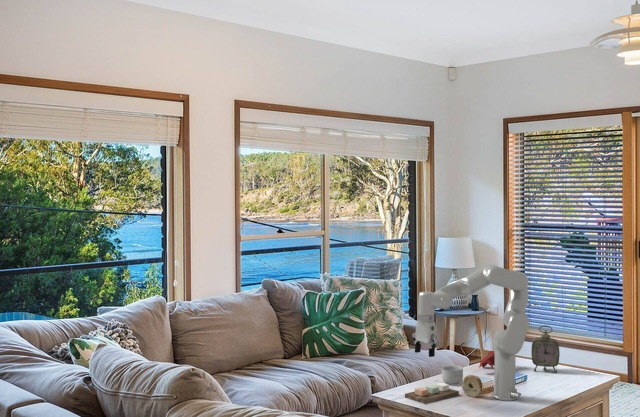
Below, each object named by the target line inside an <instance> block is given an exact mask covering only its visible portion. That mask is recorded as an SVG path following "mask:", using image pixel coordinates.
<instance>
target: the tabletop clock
mask: <svg viewBox="0 0 640 417" xmlns="http://www.w3.org/2000/svg"><path fill="white" fill-rule="evenodd" d="M543 327H546V328H549V329H551V331H547V330H544V331H543V330H540V329H541V328H543ZM538 331H539V332H540V333H542V334H541V336H540V337H535V338H534V337H533V339H532V341H531V342H532V343H531V352H530V353H531V360H532V361H531V362H532V364H533V365H535V367H534V368H533V372H536V371H537V367H538V366H539V367H543V371H547V368H552V369H553V372H554V373H555V374H556V373H557V372H558V370H557V369H556V367H557V366H558V365H559V363H560V345H559V341H558V339H555V338H551V336H550V333H552V332H553V328H552V327H551V326H549V325H545V324H544V325H540V326H539V327H538Z"/></svg>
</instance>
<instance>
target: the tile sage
mask: <svg viewBox="0 0 640 417" xmlns="http://www.w3.org/2000/svg"><path fill="white" fill-rule="evenodd" d="M425 388H426V389H428V393H431V394H434V393H438V392H439V387H437V386H436V385H434V384H430V385H425Z"/></svg>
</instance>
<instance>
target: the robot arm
mask: <svg viewBox="0 0 640 417" xmlns="http://www.w3.org/2000/svg"><path fill="white" fill-rule="evenodd" d="M490 285H495V286H498V287H500V288H501V287H502V288H506V289H508V290H509V296H508V300H507V304H506V308H505V310H504V313H503V316H502V322H503V325H504V326H506V329H501V330H498V331H497V332H496V333H495V334H494V336H493V351H494V352H495V366H494V368H495V369H494V375H493V377H494V378H493V380H494V382H493V383H494V385H493V387H494V388H493V389H494V390H493V391H491V393H490V397H492V398H493V399H496V400H499V401H507V402H508V401H516V400H518V399H519V398H521V396H522V392H518V388H516V355H517V354H518V353H519V352H520V351H521V350H522V347H523V345H524V343H525V339H526V336H527V333H528V330H529V327H530V326H529V325H530V321H529V317H528V315H527V314H526V313H525V312H526V309H527V305H528V302H529V290H528V287H529V278H528V276H527V275H526V274H525V273H523V272H520V271H517V270H513V269H512V270H511V269H507V268H504V267H500V266H497V265H495V264H488V265H485V266H483V267H482V268H480V269H478V270H476V271H474V272H472V273H470V274H469V275H467V276H465V277H463V278H459V279H458V280H455V281H452V282H450V283H448V284H446V285H444V286H442V287H440V288H439V289H437V290H435V291H434V292H433V291H426V290H425V291H424V290H423V291H420V292H419V294H418V301H417V302H418V304H417V306H418V307H417V321H416V325H415V332H413V333H411V335H412V340H413V344H414V353H416V354H417V353H421V350H422V344H421V343H424V344H427V345H428V347H429V348H428V358H433V357H435V355H436V352H435V351H436V348H437V346H438V344H439V338H437V327H436V326H437V325H436V322H435V308H436V309H442V310H445V309H446V310H447V309H448V308H450V307H452V305H453V300H454V299H456V298H458V297H461V296H468V295H473V294H476V293H477V292H479V291H481V290H483V289H485V288H487V287H488V286H490Z"/></svg>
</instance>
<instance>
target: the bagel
mask: <svg viewBox="0 0 640 417" xmlns="http://www.w3.org/2000/svg"><path fill="white" fill-rule="evenodd" d="M461 389H462V391H463V393H464V394H465V395H466V396H469V397H470V398H471V397H472V398H477V397H479V396H480V395H481V394H482V393H483V389H484V388H483V382H482V380H481V378H480V377H479V376H476V375H473V374H468V375H465V376H464V377H463V379H462V384H461Z"/></svg>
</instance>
